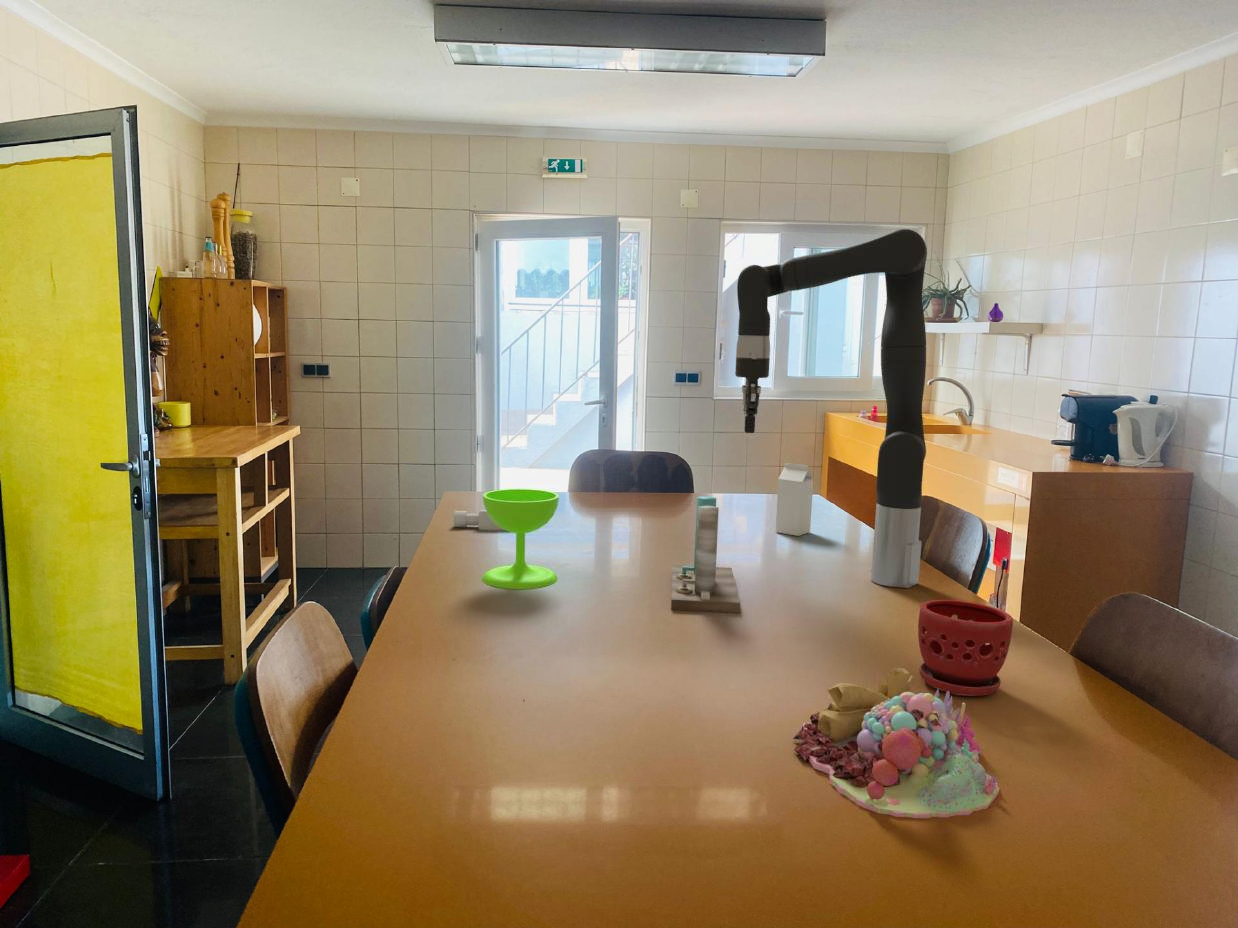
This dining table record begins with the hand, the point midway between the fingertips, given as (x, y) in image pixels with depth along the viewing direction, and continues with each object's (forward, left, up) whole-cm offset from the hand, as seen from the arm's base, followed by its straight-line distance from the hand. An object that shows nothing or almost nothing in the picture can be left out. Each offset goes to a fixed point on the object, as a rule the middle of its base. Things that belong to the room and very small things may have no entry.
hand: (749, 432), depth 196 cm
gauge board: (-6, +26, -31) cm, 41 cm away
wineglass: (+28, +45, -31) cm, 61 cm away
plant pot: (-62, +40, -31) cm, 80 cm away
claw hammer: (+77, +5, -32) cm, 83 cm away
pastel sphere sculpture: (-64, +71, -32) cm, 101 cm away
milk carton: (+8, -40, -31) cm, 51 cm away
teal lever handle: (-3, +24, -28) cm, 37 cm away
